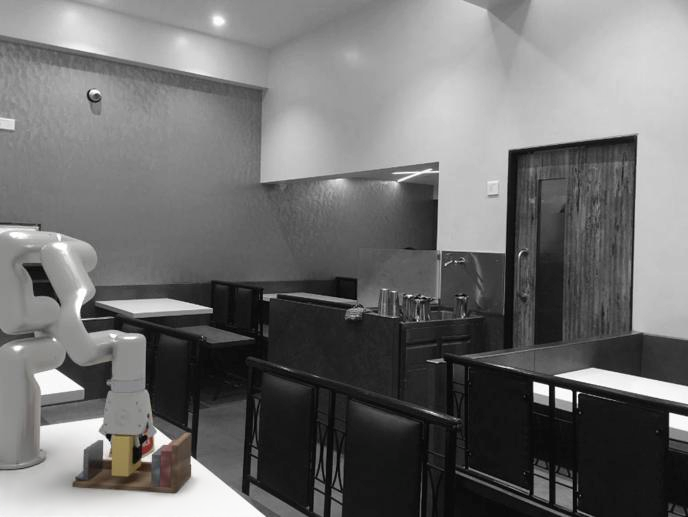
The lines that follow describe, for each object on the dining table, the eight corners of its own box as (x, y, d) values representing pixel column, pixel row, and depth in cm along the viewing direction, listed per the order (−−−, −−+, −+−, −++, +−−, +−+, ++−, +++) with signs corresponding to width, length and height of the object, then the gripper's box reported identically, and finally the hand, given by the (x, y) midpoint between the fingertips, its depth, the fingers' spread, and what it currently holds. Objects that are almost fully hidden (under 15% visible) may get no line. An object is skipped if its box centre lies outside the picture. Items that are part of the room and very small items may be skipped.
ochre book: (111, 475, 133) (112, 437, 133) (125, 464, 140) (126, 428, 140) (128, 476, 133) (128, 438, 133) (141, 465, 140) (141, 428, 140)
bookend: (74, 479, 134) (75, 449, 134) (90, 468, 141) (90, 439, 141) (87, 480, 134) (88, 449, 134) (102, 469, 141) (103, 440, 141)
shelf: (72, 486, 133) (73, 440, 133) (94, 470, 143) (95, 426, 143) (175, 493, 131) (177, 446, 131) (190, 476, 141) (192, 432, 141)
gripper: (86, 387, 133) (85, 465, 133) (156, 390, 132) (154, 469, 132) (102, 380, 141) (101, 453, 141) (168, 383, 139) (166, 457, 140)
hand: (127, 460), depth 136 cm, fingers closed on ochre book, 4 cm apart
